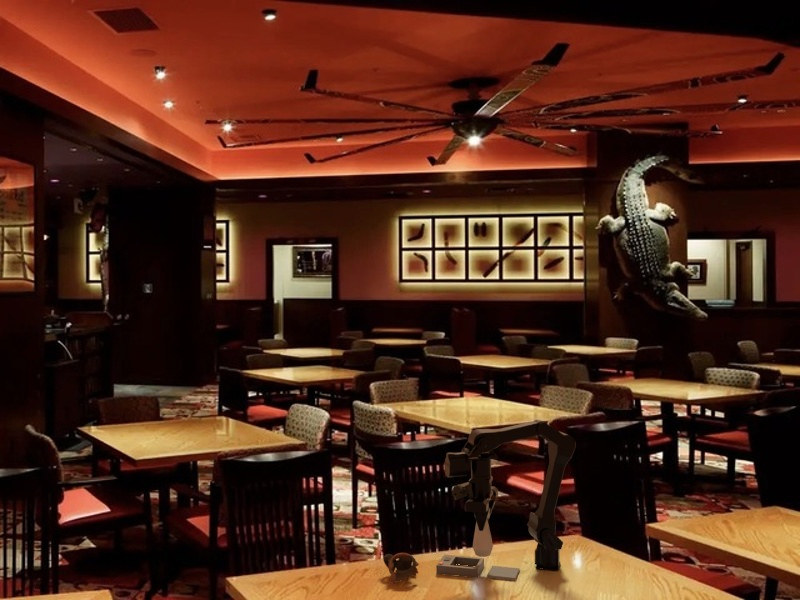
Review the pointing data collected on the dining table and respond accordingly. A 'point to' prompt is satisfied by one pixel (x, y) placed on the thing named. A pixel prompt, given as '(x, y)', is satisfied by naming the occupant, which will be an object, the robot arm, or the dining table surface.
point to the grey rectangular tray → (450, 561)
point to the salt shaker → (482, 541)
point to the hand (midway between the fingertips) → (482, 528)
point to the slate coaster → (503, 573)
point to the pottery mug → (400, 566)
